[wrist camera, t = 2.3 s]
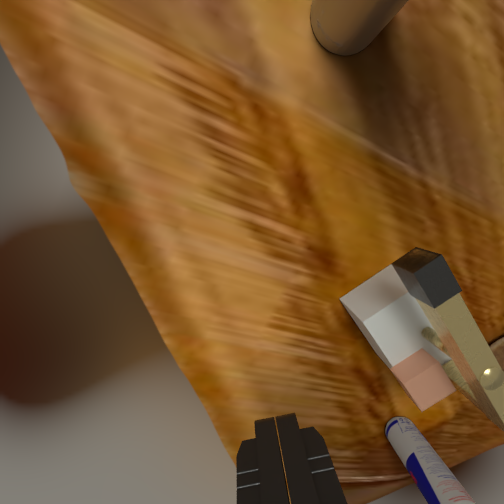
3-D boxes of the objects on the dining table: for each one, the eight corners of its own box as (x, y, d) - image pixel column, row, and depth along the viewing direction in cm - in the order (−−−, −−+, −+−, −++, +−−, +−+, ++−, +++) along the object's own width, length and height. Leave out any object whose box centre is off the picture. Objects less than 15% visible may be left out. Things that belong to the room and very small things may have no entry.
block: (438, 374, 37) (456, 390, 34) (407, 394, 37) (421, 411, 34) (422, 348, 36) (438, 361, 33) (389, 368, 36) (403, 384, 33)
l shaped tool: (463, 370, 36) (538, 428, 27) (445, 382, 37) (513, 442, 28) (384, 238, 32) (441, 254, 23) (363, 251, 32) (413, 273, 23)
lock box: (440, 313, 44) (484, 338, 36) (376, 354, 45) (406, 387, 37) (405, 254, 42) (444, 268, 34) (339, 298, 42) (362, 322, 35)
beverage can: (377, 433, 48) (439, 537, 33) (391, 409, 47) (462, 505, 33) (401, 441, 49) (473, 547, 34) (416, 418, 48) (496, 517, 33)
